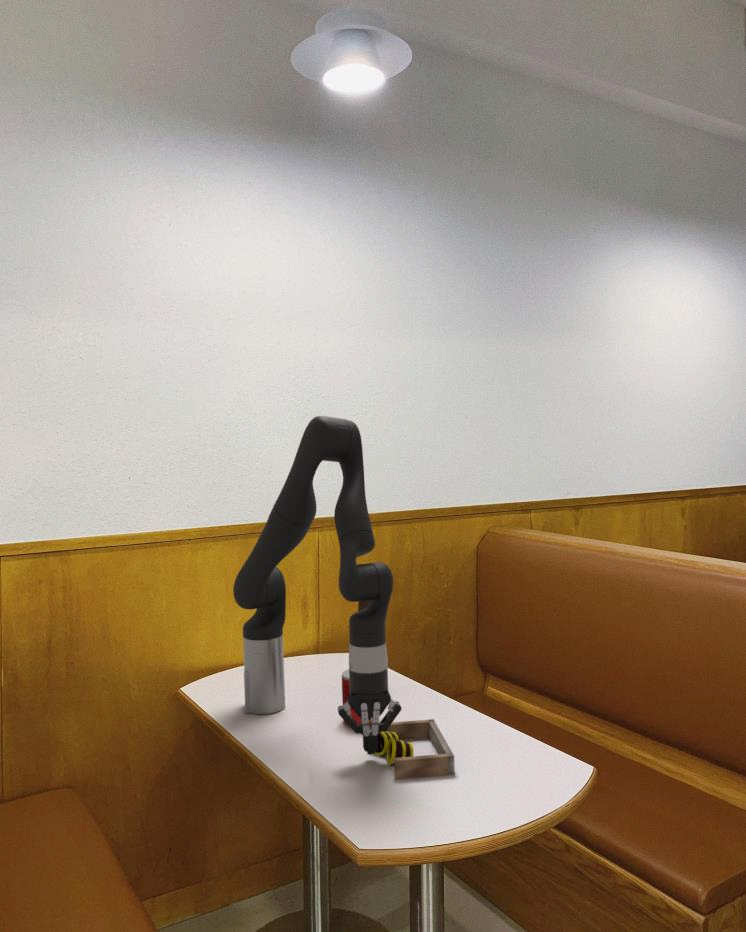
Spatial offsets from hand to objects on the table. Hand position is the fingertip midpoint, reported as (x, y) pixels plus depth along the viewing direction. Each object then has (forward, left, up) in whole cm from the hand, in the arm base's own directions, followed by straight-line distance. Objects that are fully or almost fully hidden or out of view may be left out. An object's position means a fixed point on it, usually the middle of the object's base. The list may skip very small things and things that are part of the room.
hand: (370, 752), depth 153 cm
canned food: (0, +20, -2) cm, 20 cm away
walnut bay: (+9, 0, -2) cm, 9 cm away
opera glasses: (+4, +1, -2) cm, 5 cm away
